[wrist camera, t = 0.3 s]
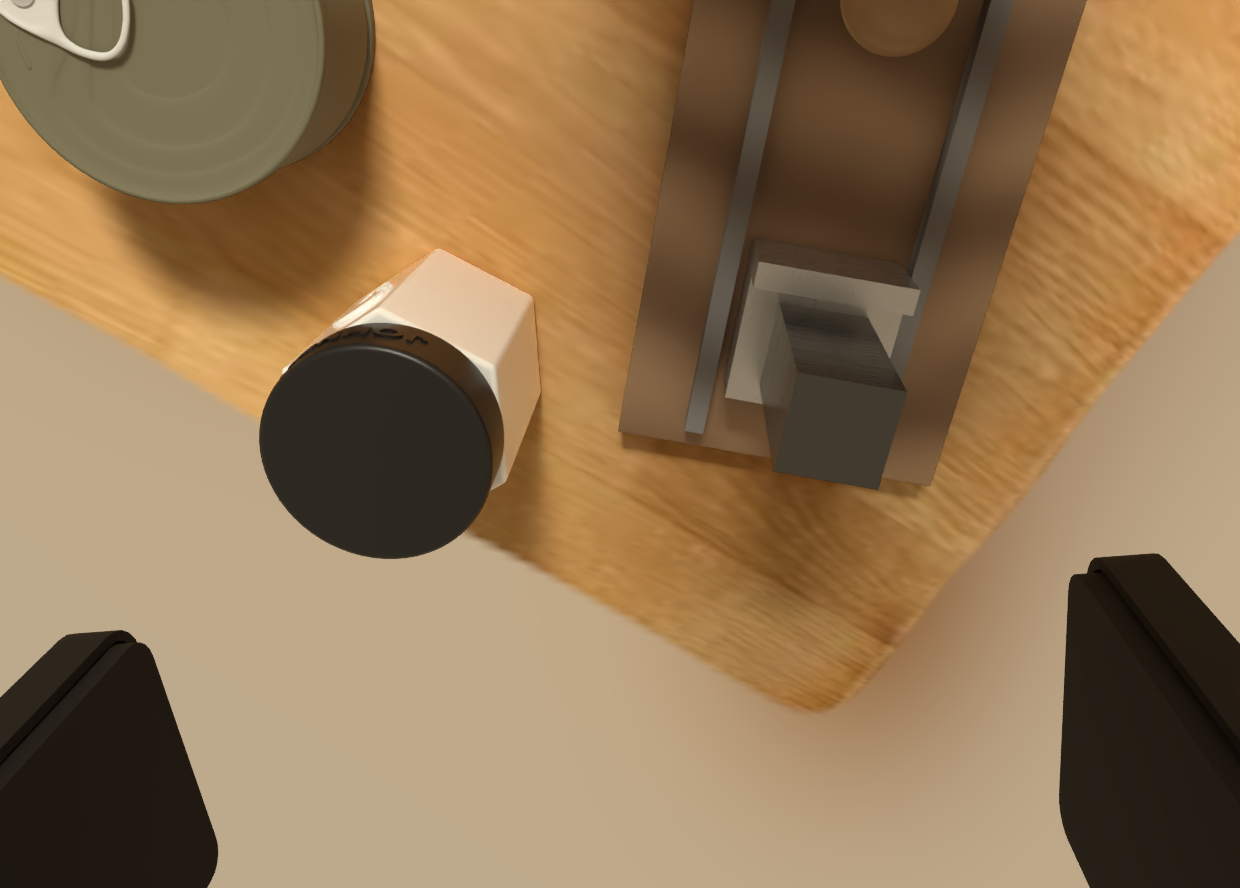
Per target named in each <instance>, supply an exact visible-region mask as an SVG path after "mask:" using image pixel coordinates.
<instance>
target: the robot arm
mask: <svg viewBox="0 0 1240 888" xmlns="http://www.w3.org/2000/svg"><path fill="white" fill-rule="evenodd" d="M1067 612H1068V613H1067V635H1066V656H1065V677H1064V700H1063V723H1062V744H1061V766H1060V767H1061V768H1060V788H1059V804H1060V813H1061V818H1062V823H1063V827H1064V830H1065V833H1066V836H1067V839H1068V841H1069V843H1070V845H1071V847H1072V850H1073V852H1074V854H1075V856H1076V858H1077V861H1078V863H1079V865H1080V867H1081V869H1082V871H1083V874H1084V876H1085V878H1086V880H1087V882H1088V885H1089V887H1090V888H1240V643H1239V642H1238V641H1237V640H1236V639H1235V638H1234V637H1233V636H1232V634H1231V633H1230V632H1229V631H1228V630H1227V629H1226V628H1225V627H1224V625H1223V624H1222V623H1221V622H1220V621H1219V620H1218V619H1217V617H1216V616H1215V615H1214V614H1213V613H1212V612H1211V611H1210V609H1209V608H1208V607H1207V606H1206V605H1205V604H1204V603H1203V602H1202V600H1201V599H1200V598H1199V597H1198V596H1197V595H1196V594H1195V593H1194V591H1193V590H1192V589H1191V588H1190V587H1189V586H1188V584H1187V583H1186V582H1185V581H1184V580H1183V579H1182V578H1181V576H1180V575H1179V574H1178V573H1177V572H1176V571H1175V570H1174V569H1173V567H1172V566H1171V565H1170V564H1169V563H1168V562H1167V561H1166V559H1165V558H1163V557H1162V556H1161V555H1159V554H1139V555H1126V556H1112V557H1100V558H1094V559H1093V560H1092V561H1091V562H1090V565H1089V568H1088V572H1087V574H1074V575H1073V576H1072V577H1071V580H1070V583H1069V590H1068V611H1067ZM217 858H218V844H217V840H216V837H215V833H214V830H213V828H212V825H211V822H210V819H209V816H208V813H207V810H206V807H205V805H204V802H203V799H202V796H201V793H200V790H199V787H198V784H197V781H196V778H195V776H194V773H193V770H192V767H191V764H190V761H189V758H188V755H187V753H186V750H185V747H184V744H183V741H182V738H181V735H180V732H179V730H178V727H177V724H176V721H175V718H174V715H173V712H172V709H171V706H170V703H169V700H168V698H167V695H166V692H165V689H164V686H163V683H162V680H161V677H160V675H159V672H158V669H157V666H156V663H155V660H154V657H153V655H152V653H151V651H150V649H149V648H148V647H147V646H146V645H145V644H143V643H137V642H136V639H135V638H134V637H133V636H132V635H131V634H130V633H128V632H126V631H123V630H117V631H104V632H91V633H78V634H70V635H66V636H65V637H63V638H62V639H60V640H59V641H58V642H57V643H56V644H55V645H54V646H53V647H52V648H51V649H50V650H49V651H48V652H47V653H46V654H44V655H43V657H41V658H40V659H39V660H38V661H37V662H36V663H35V664H34V665H33V666H32V667H31V668H30V669H29V670H28V671H27V672H26V673H25V674H24V675H23V676H22V677H21V678H20V679H19V680H18V681H17V682H16V683H15V684H14V685H13V686H12V687H11V688H10V689H9V690H8V691H7V692H6V693H5V694H3V695H2V696H1V697H0V888H207V887H208V885H209V883H210V882H211V880H212V877H213V875H214V873H215V870H216V866H217V860H218V859H217Z"/></svg>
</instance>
